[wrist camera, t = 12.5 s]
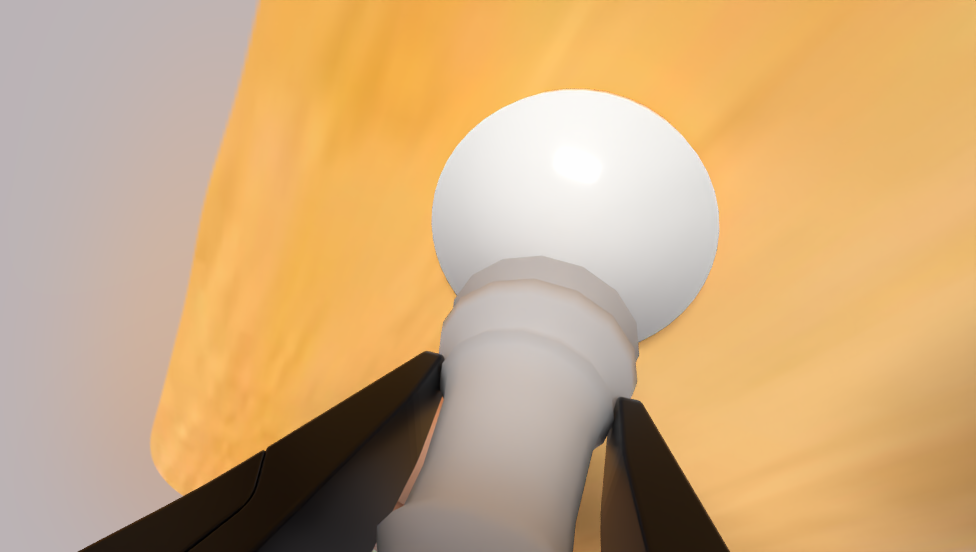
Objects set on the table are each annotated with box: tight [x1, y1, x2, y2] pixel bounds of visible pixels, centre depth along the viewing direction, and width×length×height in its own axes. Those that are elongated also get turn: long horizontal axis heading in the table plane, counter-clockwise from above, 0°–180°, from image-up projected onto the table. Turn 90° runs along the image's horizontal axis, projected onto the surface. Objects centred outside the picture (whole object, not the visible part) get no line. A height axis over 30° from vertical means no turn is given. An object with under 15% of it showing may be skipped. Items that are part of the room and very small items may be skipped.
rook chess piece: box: [377, 256, 639, 552], centre depth 6 cm, size 4×4×8 cm
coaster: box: [432, 89, 719, 342], centre depth 15 cm, size 10×10×1 cm
